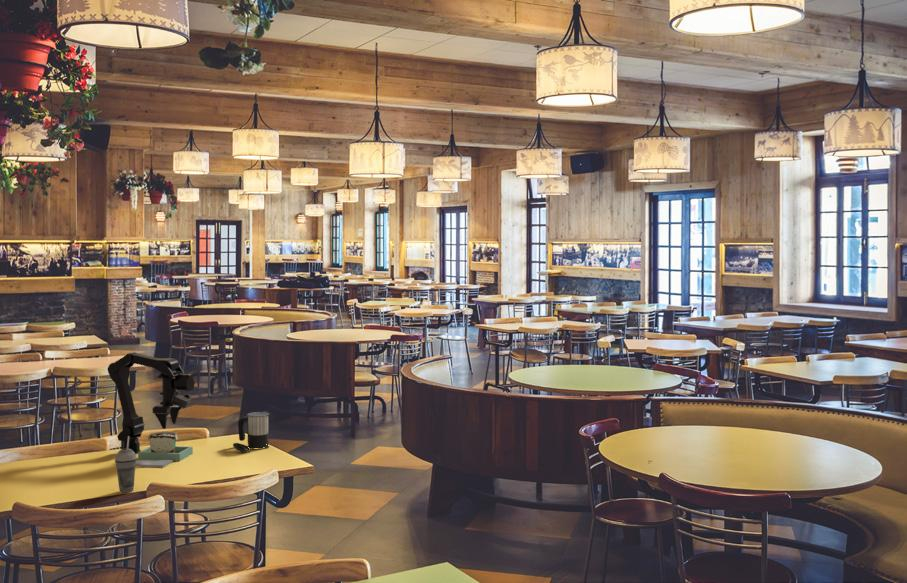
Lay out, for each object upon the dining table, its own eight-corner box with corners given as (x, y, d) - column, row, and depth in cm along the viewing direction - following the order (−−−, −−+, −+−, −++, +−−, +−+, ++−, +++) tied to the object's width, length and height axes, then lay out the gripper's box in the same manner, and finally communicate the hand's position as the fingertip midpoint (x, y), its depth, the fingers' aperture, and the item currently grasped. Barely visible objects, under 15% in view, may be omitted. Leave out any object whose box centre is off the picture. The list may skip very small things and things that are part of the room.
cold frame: (138, 459, 334) (138, 452, 333) (152, 452, 345) (152, 445, 345) (179, 461, 331) (179, 453, 331) (192, 453, 343) (192, 446, 343)
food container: (183, 455, 341) (182, 431, 340) (176, 459, 335) (176, 435, 334) (155, 454, 342) (154, 431, 342) (148, 458, 336) (147, 434, 335)
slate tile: (129, 466, 323) (129, 464, 323) (139, 461, 331) (139, 459, 331) (163, 467, 321) (163, 465, 321) (172, 462, 329) (172, 460, 329)
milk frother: (271, 444, 359) (270, 411, 358) (265, 453, 343) (264, 418, 343) (238, 445, 358) (237, 412, 357) (231, 454, 342) (230, 419, 342)
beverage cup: (119, 488, 293) (117, 434, 292) (140, 488, 294) (138, 433, 293) (112, 494, 286) (111, 438, 285) (133, 494, 286) (132, 438, 285)
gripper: (178, 394, 327) (178, 432, 328) (197, 386, 346) (197, 422, 347) (151, 392, 329) (151, 430, 329) (172, 385, 347) (172, 421, 348)
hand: (169, 426), depth 338 cm, fingers open, 9 cm apart
